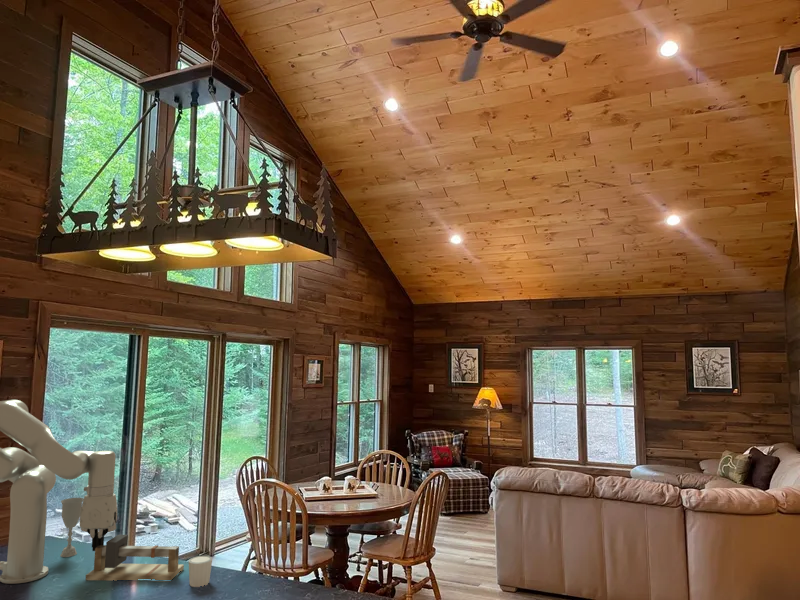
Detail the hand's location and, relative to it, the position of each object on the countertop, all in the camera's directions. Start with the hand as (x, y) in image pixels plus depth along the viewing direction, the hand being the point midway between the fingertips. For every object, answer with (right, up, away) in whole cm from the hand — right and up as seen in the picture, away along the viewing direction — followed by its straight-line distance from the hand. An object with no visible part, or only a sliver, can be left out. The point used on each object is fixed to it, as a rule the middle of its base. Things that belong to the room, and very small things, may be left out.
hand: (97, 549), depth 182 cm
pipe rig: (+14, -6, -4) cm, 16 cm away
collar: (+8, -3, -4) cm, 9 cm away
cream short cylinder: (+36, -6, -10) cm, 38 cm away
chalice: (-17, -8, +13) cm, 23 cm away
